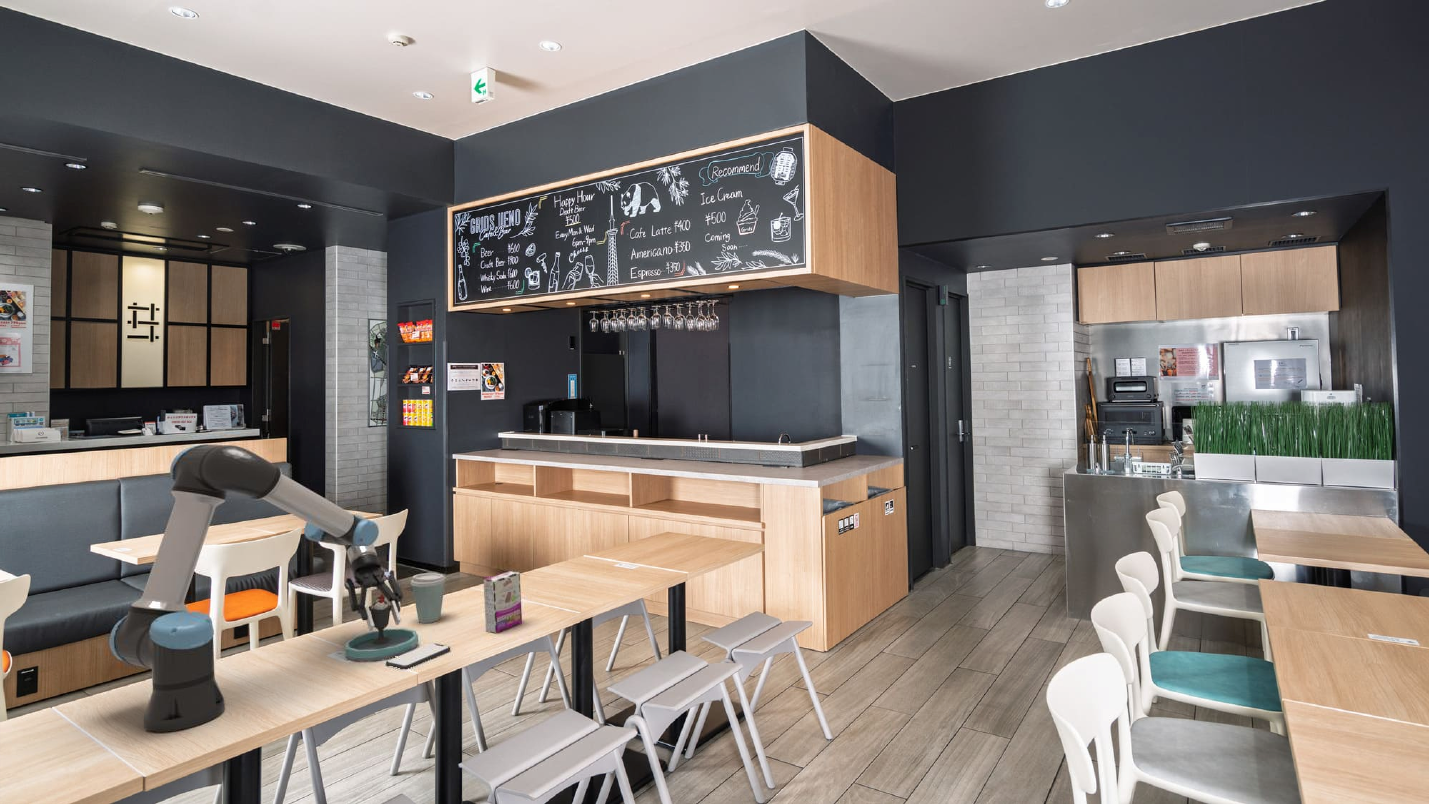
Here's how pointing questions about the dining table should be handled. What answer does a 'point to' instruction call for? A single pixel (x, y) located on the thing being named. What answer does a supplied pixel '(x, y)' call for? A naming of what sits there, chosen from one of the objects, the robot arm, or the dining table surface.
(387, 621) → the sundae
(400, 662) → the smartphone
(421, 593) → the disposable coffee cup
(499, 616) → the candy bar box
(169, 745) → the dining table surface
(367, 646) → the round tray
